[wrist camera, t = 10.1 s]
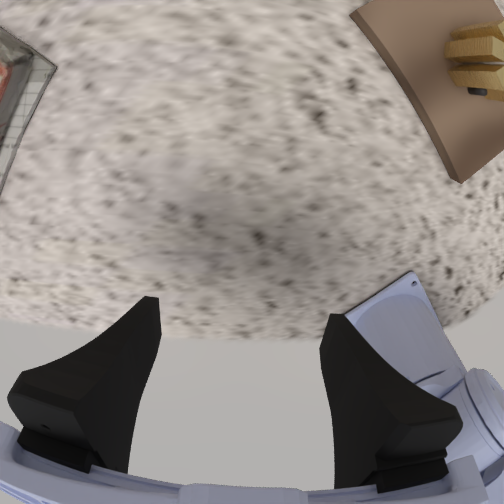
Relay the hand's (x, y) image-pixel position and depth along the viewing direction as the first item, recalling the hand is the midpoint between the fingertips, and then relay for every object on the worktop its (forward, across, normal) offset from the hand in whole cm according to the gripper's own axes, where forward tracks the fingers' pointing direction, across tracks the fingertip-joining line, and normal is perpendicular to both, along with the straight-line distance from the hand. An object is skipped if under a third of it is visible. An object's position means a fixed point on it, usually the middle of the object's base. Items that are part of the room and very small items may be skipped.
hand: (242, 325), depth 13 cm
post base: (+9, -13, -14) cm, 22 cm away
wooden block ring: (+8, -13, -14) cm, 21 cm away
